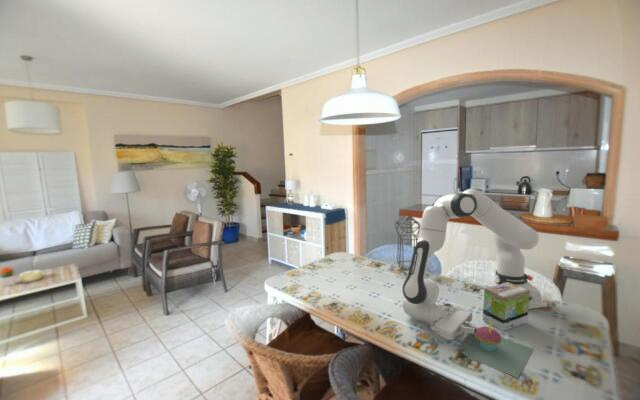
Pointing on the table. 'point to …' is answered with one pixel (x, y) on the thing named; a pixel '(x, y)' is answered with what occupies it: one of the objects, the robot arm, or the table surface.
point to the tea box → (506, 305)
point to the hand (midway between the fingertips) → (475, 330)
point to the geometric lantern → (405, 239)
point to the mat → (501, 356)
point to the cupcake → (488, 337)
